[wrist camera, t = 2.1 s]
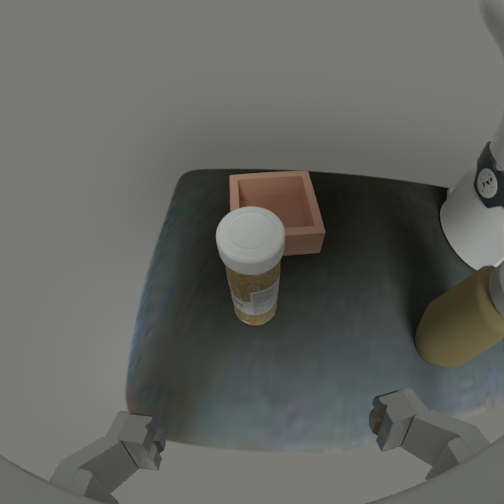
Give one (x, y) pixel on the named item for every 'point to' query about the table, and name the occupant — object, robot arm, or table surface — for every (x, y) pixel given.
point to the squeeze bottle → (463, 319)
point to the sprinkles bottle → (252, 261)
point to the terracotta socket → (283, 205)
